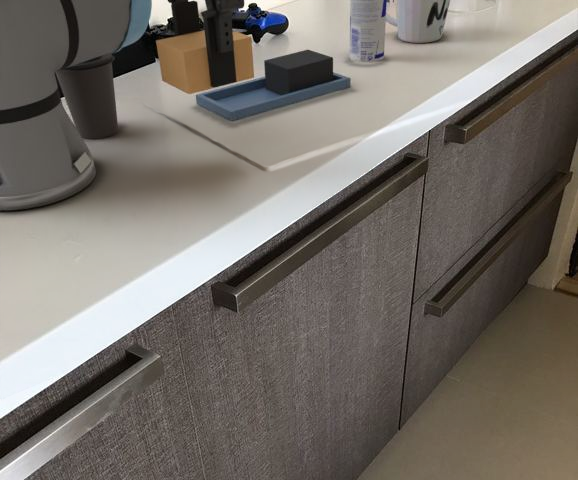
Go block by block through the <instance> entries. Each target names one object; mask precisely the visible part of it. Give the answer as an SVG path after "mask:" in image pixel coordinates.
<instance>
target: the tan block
mask: <svg viewBox="0 0 578 480" xmlns="http://www.w3.org/2000/svg"><path fill="white" fill-rule="evenodd" d="M232 35H233V42H234V58H235V69H236V81H237V82H236V83H238V82H244V81H248V80H252V79H255V69H254V55H253V41H252V36H250V35H247V34H244V33H241V32H238V31H235V30H233V34H232ZM155 43H156V50H157V56H158V62H159V68H160V75H161V81H162V82H164V83H166V84H168V85H170V86H172V87H174V88H175V89H178V90H179V91H181V92H184V93H185V94H188V95H192V94H195V93H200V92H204V91H207V90H212V89H215V88H214V87H211V83H210V74H209V65H208V56H207V47H206V40H205V31H204V29H203V30H201V31H199V32H194V33H189V34H185V35H180V36H175V35H174V36H171V37H165V38H162V39H157V40H155Z"/></svg>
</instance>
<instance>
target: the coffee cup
mask: <svg viewBox="0 0 578 480" xmlns="http://www.w3.org/2000/svg"><path fill="white" fill-rule="evenodd" d="M114 61H115V56H114V55H113V53H108V54H105V55H102V56H99V57H96V58H93V59H90V60H88V61H85V62H82V63H79V64H76V65H73V66H70V67H67V68H64V69H61V70H58V71H56V72H55V76H56V79H57V82H58V84H59V86H60V89H61V91H62V94H63V97H64V100H65V102H66V105H67V107H68V110H69V113H70V117H71V118H72V119H71V120H72V122H73V124H74V126H75V127H76V129H77V131H78V132H79V134H80V136H81V137H82V139H88V140H89V139H90V140H95V139H104V138H107V137H111V136H113V135H114V134H117V133H118V131H119V125H118V124H119V121H118V112H117V103H116V93H115V83H114V73H113V62H114Z"/></svg>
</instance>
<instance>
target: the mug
mask: <svg viewBox="0 0 578 480" xmlns="http://www.w3.org/2000/svg"><path fill="white" fill-rule="evenodd" d="M394 1H395V14H396V15H395V16H396V18H395V17H392V16H391V15H390V14H388V13H387V12H386V23H388V24H389V25H392V26H393V27H396V29H397V36H398V39H399V40H401V41H402V42H406V43H411V44H412V43H413V44H426V43H432V42H436V41H438V40H440V39H441V38H442V36H443V33H444V29H445V24H446V20H447V17H448V11H449V7H450V2H451V0H394Z"/></svg>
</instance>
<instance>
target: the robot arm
mask: <svg viewBox="0 0 578 480" xmlns="http://www.w3.org/2000/svg"><path fill="white" fill-rule="evenodd" d="M204 2H205V7H206V10H203V11H200V13H199V4H198V1H196V0H167V3H169V4H170V7H171V14H172V22H173V30H174V37H175V36H180V35H185V34H189V33H194V32H199V31H202V30H201V22H200V15H201V17H202V21H203V30H204V31H205V40H206V47H207V56H208V65H209V74H210V83H211V87H214V88H213V89H215V88H221V87H225V86H229V85H232V84H234V83H235V84H236V83H238V82H237V81H236V69H235V58H234V42H233V35H232V34H233V31H234V29H233V19H232V17H233V14H234V13H235V12H236V11H237V10H241V9H243V8H244V7H245V0H204ZM152 9H153V0H0V211H18V210H27V209H33V208H39V207H43V206H47V205H51V204H54V203H57V202H59V201H62V200H64V199H67V198H70V197H72V196H74V195H76V194H77V193H79V192H80V191H83V190H84V189H85V188H87V186H89V185H90V184H91V183H92V181H93V180H94V178H95V177H96V173H97V170H96V165H95V162H94V157H93V155H92V153H91V151H90V149H89V147H88V145H87V144H86V142H85V140H84V138H82V137H81V136H80V134H79V132H78V131H77V129H76V127H75V124H74V121H73V120H72V119H71V116H70V115H69V114H68V113H67V111H66V109H65V107H64V105H63V101H62V97H61V94H60V90H59V86H58V83H57V82H58V80H57V76H56V71H58V70H61V69H64V68H67V67H70V66H73V65H76V64H79V63H82V62H85V61H88V60H90V59H93V58H96V57H99V56H102V55H105V54H108V53H111V54H116V53H119V52H120V51H121V50H122V49H124V48H125V47H128V46H130V45H132V44H134V43H136V42H138V40H140V39H141V38H142V37H143V35H144V34H145V32H146V30H147V28H148V26H149V23H150V19H151V15H152Z"/></svg>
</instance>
